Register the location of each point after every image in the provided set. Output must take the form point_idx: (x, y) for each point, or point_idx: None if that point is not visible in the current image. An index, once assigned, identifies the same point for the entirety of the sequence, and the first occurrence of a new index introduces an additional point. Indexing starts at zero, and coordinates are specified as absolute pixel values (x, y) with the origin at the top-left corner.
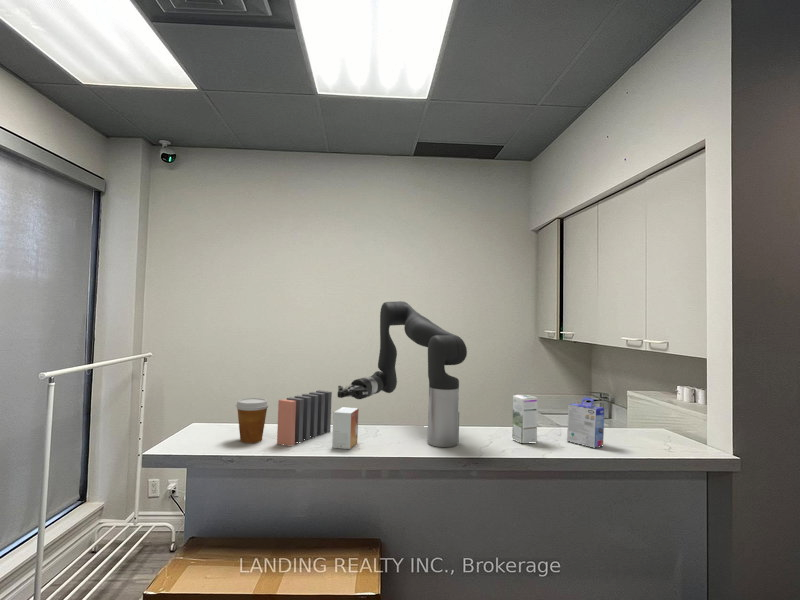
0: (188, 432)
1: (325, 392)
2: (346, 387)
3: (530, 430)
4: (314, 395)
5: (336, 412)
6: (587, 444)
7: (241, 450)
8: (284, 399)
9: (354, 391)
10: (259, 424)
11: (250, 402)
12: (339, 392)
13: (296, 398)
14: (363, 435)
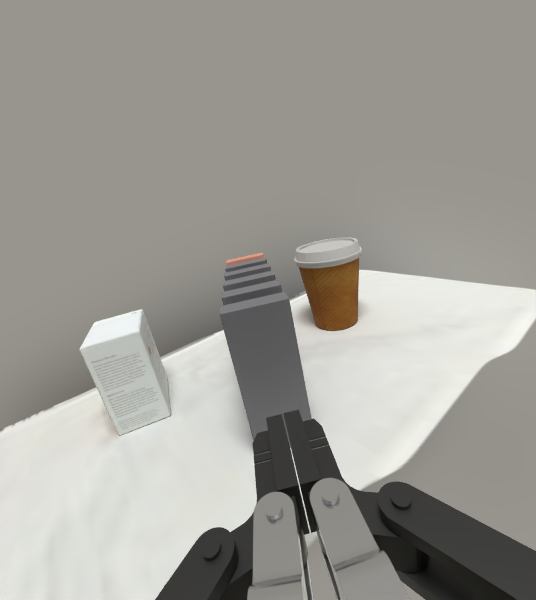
0: (460, 284)
1: (237, 303)
2: (363, 556)
3: None
4: (231, 281)
5: (134, 311)
6: None
7: (294, 308)
8: (257, 255)
9: (197, 554)
10: (306, 292)
11: (321, 246)
12: (285, 415)
13: (243, 263)
14: (113, 506)
